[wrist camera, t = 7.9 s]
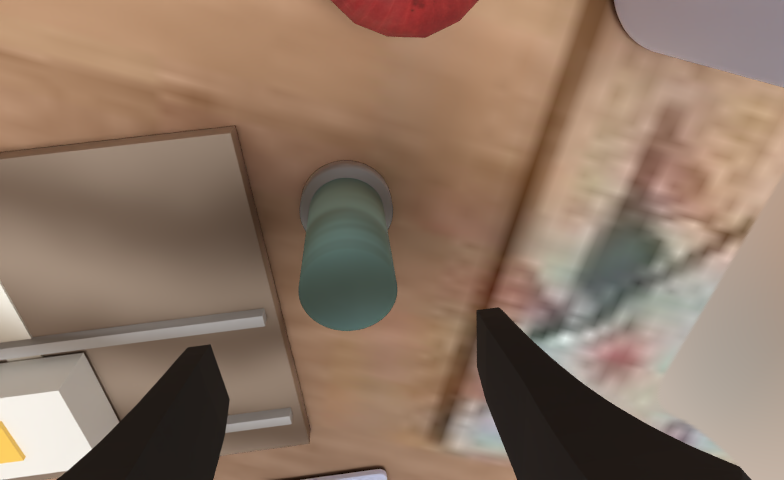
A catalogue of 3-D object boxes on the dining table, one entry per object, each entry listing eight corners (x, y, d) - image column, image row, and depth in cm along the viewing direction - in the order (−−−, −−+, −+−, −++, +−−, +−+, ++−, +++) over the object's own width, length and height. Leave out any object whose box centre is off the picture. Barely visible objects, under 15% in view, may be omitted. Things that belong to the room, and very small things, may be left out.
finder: (121, 425, 26) (99, 469, 24) (3, 441, 26) (-29, 487, 23) (83, 352, 24) (55, 394, 21) (-47, 369, 23) (-89, 413, 21)
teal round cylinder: (394, 236, 23) (413, 332, 17) (309, 246, 23) (298, 347, 17) (386, 155, 21) (404, 230, 15) (293, 166, 21) (274, 246, 15)
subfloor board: (310, 429, 29) (308, 452, 28) (-42, 476, 28) (-61, 503, 27) (235, 125, 20) (227, 137, 19) (-276, 183, 20) (-324, 200, 18)
